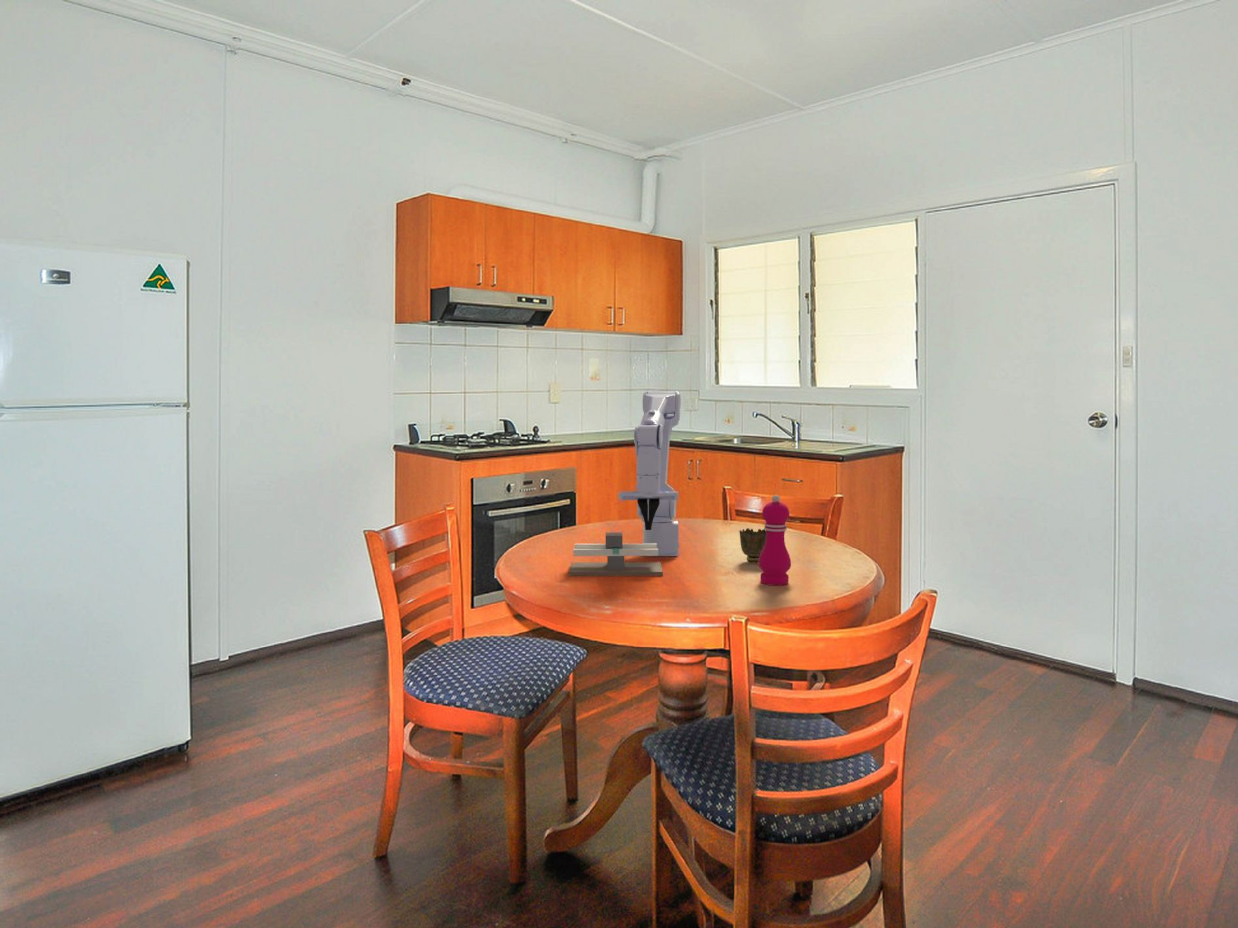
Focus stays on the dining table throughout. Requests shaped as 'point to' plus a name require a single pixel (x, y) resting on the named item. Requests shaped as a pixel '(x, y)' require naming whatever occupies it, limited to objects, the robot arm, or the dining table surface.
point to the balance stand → (616, 560)
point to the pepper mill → (775, 544)
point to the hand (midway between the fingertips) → (648, 529)
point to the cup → (752, 543)
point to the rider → (614, 540)
